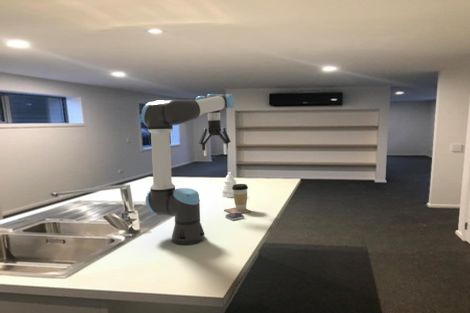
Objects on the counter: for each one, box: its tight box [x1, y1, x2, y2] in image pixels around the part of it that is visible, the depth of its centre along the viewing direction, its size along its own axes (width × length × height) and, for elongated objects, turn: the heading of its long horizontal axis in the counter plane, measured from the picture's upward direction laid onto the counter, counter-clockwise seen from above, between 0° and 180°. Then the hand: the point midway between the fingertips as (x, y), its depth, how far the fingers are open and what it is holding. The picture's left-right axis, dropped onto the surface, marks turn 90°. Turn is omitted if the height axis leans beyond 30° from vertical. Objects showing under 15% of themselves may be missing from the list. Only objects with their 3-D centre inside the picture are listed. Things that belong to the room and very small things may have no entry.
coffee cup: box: [232, 183, 249, 211], centre depth 196 cm, size 10×10×15 cm
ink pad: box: [224, 213, 245, 221], centre depth 182 cm, size 8×8×2 cm
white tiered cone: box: [221, 171, 238, 199], centre depth 240 cm, size 13×13×18 cm
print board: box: [223, 207, 252, 215], centre depth 195 cm, size 12×12×1 cm
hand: (215, 155), depth 195 cm, fingers open, 13 cm apart
